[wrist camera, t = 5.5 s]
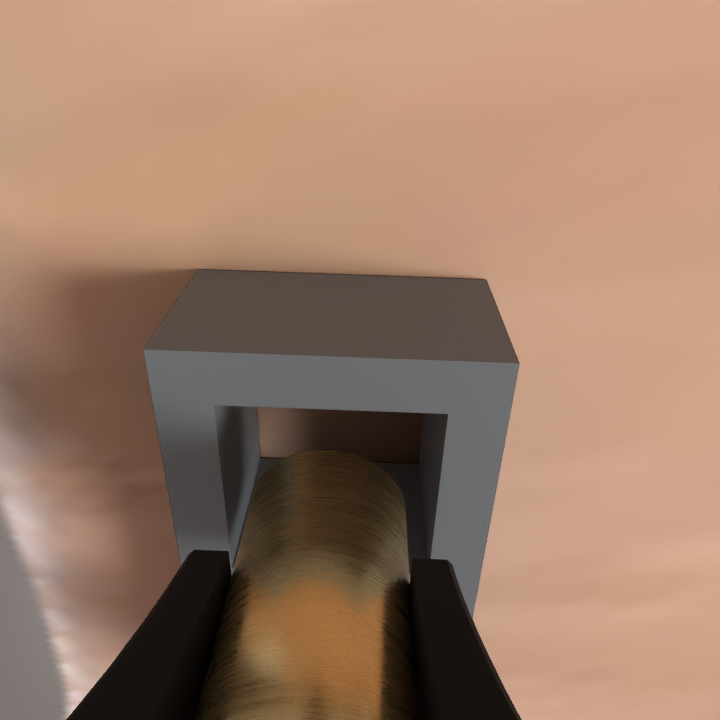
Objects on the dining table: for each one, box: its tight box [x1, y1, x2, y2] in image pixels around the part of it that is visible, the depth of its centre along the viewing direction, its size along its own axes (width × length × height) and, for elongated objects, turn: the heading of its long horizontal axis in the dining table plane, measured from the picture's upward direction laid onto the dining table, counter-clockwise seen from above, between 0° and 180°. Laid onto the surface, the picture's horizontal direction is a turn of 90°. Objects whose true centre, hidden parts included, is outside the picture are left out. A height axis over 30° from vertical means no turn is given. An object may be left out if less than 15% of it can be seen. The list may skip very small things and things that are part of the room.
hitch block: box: [143, 269, 520, 618], centre depth 17 cm, size 16×7×4 cm, turn 178°
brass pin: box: [195, 450, 417, 720], centre depth 9 cm, size 3×3×8 cm
